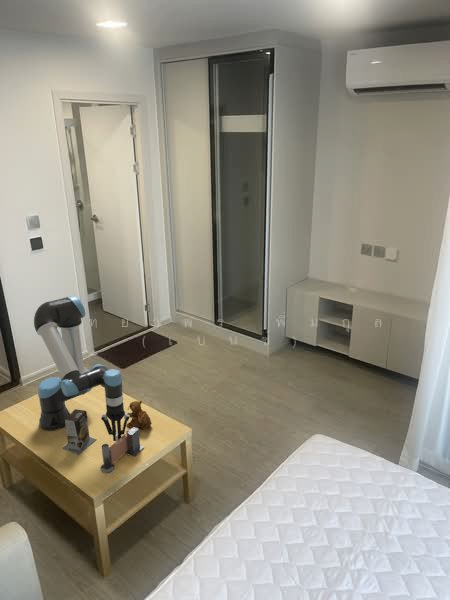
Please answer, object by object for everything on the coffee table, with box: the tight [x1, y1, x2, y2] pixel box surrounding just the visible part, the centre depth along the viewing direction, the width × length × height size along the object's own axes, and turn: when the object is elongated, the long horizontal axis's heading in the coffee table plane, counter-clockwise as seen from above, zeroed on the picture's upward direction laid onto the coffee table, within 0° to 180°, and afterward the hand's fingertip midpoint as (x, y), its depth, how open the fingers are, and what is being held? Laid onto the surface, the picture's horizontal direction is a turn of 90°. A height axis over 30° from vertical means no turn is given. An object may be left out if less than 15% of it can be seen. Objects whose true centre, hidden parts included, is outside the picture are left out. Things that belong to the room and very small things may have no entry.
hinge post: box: [100, 443, 116, 474], centre depth 197 cm, size 6×6×12 cm
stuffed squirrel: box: [126, 400, 153, 429], centre depth 227 cm, size 10×14×13 cm
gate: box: [109, 428, 132, 464], centre depth 205 cm, size 15×2×8 cm, turn 152°
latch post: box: [124, 427, 145, 458], centre depth 209 cm, size 6×7×11 cm
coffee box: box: [65, 409, 91, 450], centre depth 212 cm, size 9×6×16 cm
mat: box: [62, 436, 97, 456], centre depth 215 cm, size 10×12×1 cm
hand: (117, 446), depth 210 cm, fingers closed
